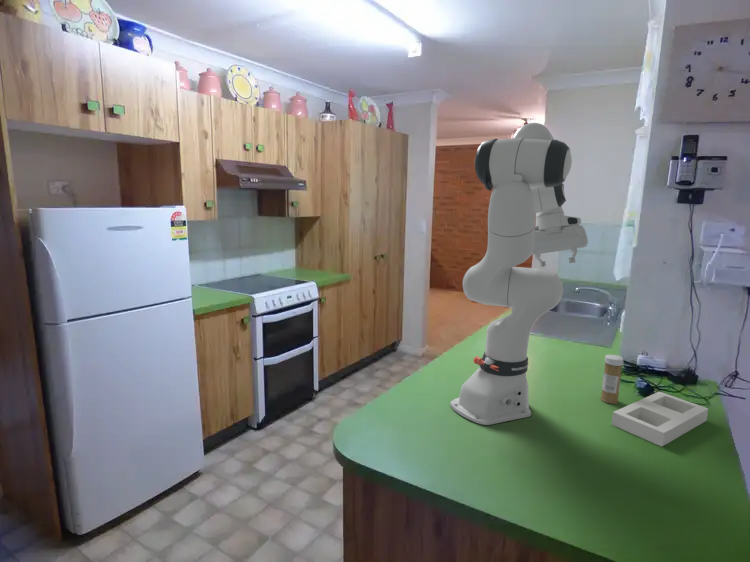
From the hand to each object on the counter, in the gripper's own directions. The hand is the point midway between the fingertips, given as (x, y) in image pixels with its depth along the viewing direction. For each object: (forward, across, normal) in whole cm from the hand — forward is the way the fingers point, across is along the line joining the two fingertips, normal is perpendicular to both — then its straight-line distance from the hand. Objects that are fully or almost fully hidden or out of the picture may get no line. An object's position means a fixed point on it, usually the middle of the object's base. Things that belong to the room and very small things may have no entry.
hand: (557, 264), depth 145 cm
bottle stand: (+46, +12, -26) cm, 54 cm away
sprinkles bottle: (+42, +4, -16) cm, 45 cm away
